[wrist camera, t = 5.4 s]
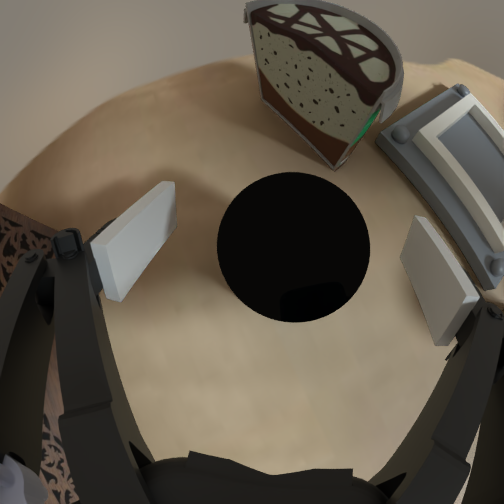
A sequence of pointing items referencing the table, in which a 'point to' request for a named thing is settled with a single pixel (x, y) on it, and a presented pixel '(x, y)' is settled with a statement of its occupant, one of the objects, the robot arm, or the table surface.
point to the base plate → (457, 173)
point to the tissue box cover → (53, 457)
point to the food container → (324, 71)
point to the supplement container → (293, 247)
